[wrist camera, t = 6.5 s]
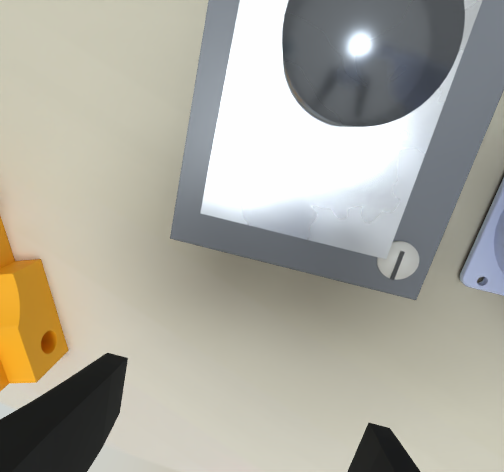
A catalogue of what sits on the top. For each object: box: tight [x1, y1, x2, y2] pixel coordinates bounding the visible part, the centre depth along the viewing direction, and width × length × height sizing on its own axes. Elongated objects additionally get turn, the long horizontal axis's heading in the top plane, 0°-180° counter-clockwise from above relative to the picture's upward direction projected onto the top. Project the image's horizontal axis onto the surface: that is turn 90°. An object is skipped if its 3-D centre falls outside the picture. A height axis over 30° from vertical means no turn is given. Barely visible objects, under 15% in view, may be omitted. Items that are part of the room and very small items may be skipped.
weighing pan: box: [200, 0, 482, 259], centre depth 13 cm, size 8×13×1 cm, turn 167°
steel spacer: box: [282, 0, 465, 127], centre depth 10 cm, size 4×4×5 cm
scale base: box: [170, 0, 504, 300], centre depth 16 cm, size 12×15×3 cm
